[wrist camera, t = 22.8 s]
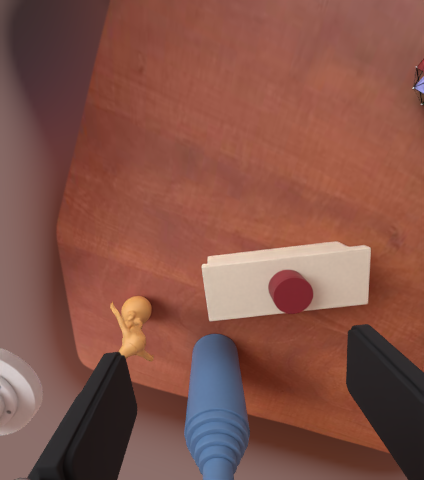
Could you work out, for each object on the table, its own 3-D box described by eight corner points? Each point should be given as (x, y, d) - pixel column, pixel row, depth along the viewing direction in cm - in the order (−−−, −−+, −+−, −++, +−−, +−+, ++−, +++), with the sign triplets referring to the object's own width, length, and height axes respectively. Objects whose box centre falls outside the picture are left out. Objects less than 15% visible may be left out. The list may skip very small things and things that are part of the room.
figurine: (113, 287, 34) (61, 344, 22) (148, 267, 33) (113, 315, 21) (145, 330, 35) (113, 404, 24) (179, 312, 35) (163, 380, 23)
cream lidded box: (209, 296, 34) (209, 321, 28) (203, 251, 32) (201, 267, 26) (340, 281, 34) (368, 304, 28) (340, 235, 32) (371, 247, 26)
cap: (261, 294, 27) (266, 305, 25) (279, 263, 26) (285, 271, 24) (293, 308, 28) (300, 319, 25) (311, 278, 27) (321, 287, 24)
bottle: (209, 378, 38) (209, 549, 20) (183, 348, 36) (158, 505, 19) (245, 357, 37) (277, 517, 19) (220, 325, 35) (230, 468, 18)
